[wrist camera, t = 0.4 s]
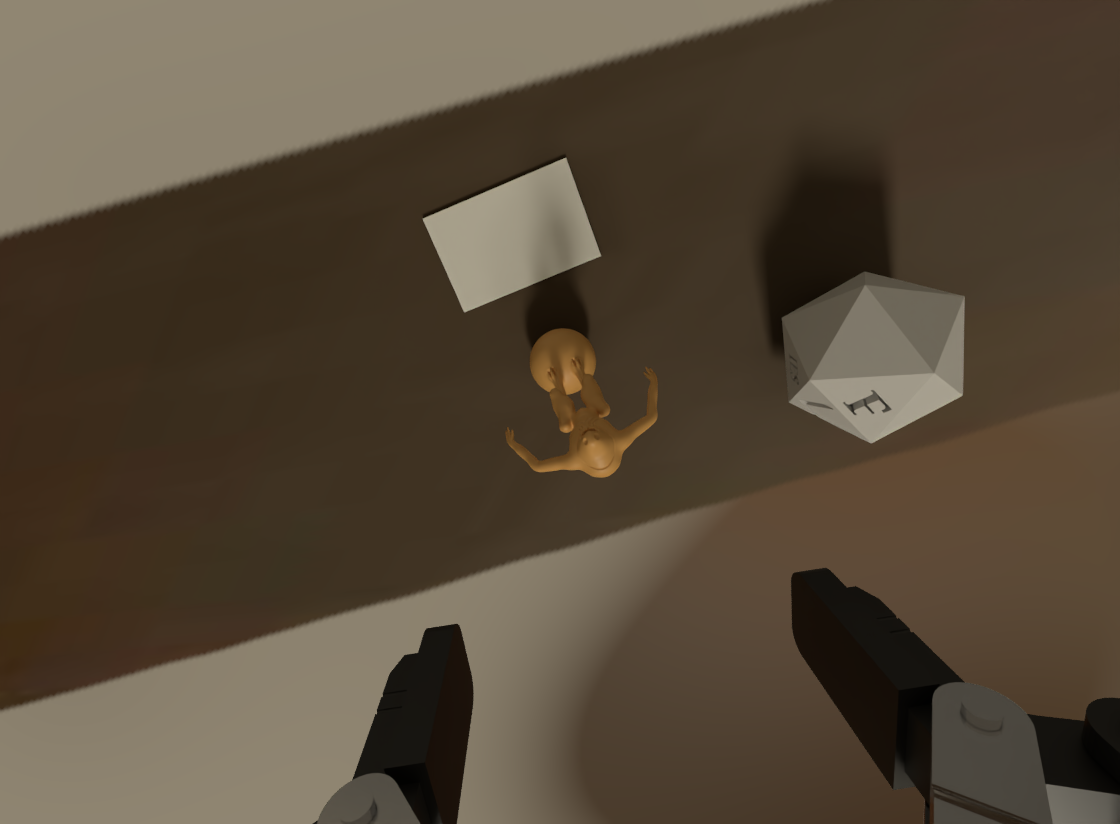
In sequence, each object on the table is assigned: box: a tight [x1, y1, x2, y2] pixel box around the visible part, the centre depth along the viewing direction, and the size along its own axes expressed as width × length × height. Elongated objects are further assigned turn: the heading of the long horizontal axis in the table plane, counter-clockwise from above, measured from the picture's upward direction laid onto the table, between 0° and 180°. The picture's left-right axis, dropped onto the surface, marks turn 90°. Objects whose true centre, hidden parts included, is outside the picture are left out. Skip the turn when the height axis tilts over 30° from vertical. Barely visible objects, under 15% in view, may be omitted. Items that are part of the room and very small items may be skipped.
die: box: [782, 272, 965, 443], centre depth 29 cm, size 8×9×10 cm
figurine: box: [505, 328, 658, 477], centre depth 27 cm, size 8×6×12 cm
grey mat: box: [423, 158, 601, 312], centre depth 31 cm, size 9×6×1 cm, turn 112°
